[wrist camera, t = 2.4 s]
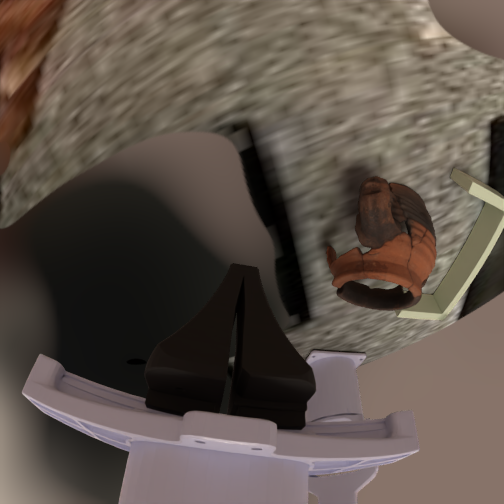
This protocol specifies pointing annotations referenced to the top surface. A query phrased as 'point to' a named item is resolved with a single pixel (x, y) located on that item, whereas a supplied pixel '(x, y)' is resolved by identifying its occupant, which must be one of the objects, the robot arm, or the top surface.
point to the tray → (464, 253)
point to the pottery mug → (387, 248)
